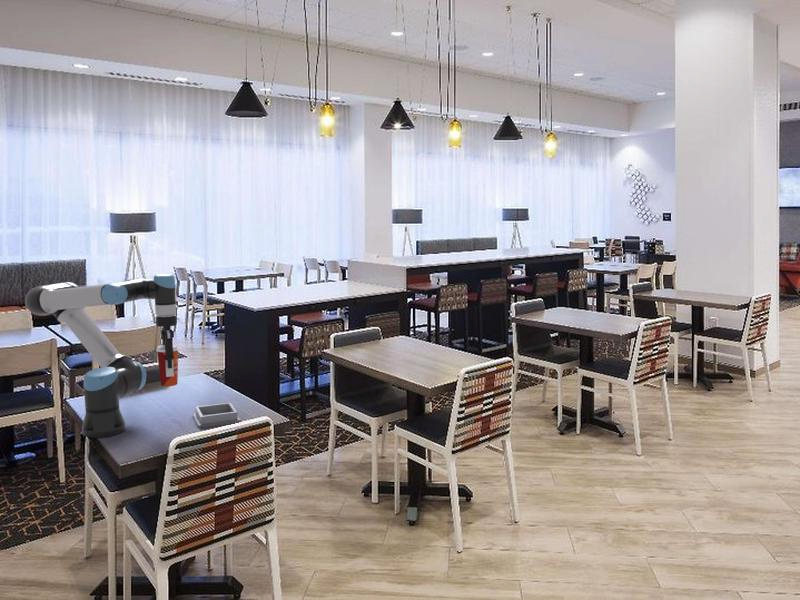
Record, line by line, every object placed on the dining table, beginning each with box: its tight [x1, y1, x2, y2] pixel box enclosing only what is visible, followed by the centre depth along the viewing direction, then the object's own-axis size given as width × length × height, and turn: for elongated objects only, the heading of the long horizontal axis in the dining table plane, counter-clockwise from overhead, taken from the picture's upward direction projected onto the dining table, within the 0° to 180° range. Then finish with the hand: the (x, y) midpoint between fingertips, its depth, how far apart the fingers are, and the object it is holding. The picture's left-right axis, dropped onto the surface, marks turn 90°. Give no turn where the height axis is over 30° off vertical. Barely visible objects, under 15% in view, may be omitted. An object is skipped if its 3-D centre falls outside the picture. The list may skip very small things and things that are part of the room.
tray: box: [192, 402, 242, 429], centre depth 267 cm, size 16×16×4 cm
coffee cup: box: [155, 344, 180, 387], centre depth 257 cm, size 8×8×15 cm
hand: (168, 373), depth 258 cm, fingers closed on coffee cup, 8 cm apart
